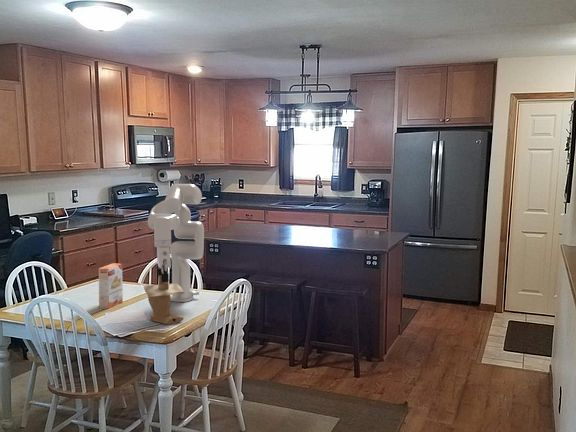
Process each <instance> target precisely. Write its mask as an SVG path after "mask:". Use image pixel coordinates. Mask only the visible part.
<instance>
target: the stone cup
mask: <svg viewBox="0 0 576 432" xmlns="http://www.w3.org/2000/svg"><path fill="white" fill-rule="evenodd" d="M170 296H171V295H163V296H152V297H148V296H147V300H148V303H149V305H150V308H151V309H152V312H153V315H151V316H150V318H149V319H150V320H151V321H153V322H156V323H160V324H164V325H173V324H179V323H181V322H182V321H184V317H183V316H180V315H176V314H173V313H171V304H172V303H171V302H172V301H171V298H170Z"/></svg>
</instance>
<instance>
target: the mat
mask: <svg viewBox="0 0 576 432" xmlns="http://www.w3.org/2000/svg"><path fill="white" fill-rule="evenodd" d="M104 315H105V321H106V324H107V325H113V324H121V323H123V324H124V323H129V322H130V323H131V322H142V321H148V319H147V316H146V314H145V312H144V309H143V308H141V309H131V310H119V311H110V312H104Z"/></svg>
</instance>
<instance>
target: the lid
mask: <svg viewBox="0 0 576 432" xmlns="http://www.w3.org/2000/svg"><path fill="white" fill-rule="evenodd" d="M157 276H158V277H157V278H158V279H157V282H158V284H153V285H144V286H143V290H144V291H145V293H146V295H147V298H148V297H152V296H163V295H170V296H172V295H174V294H184V291H183V289H182V288H181V287H180V286H179V285H178V283H176V284H172V283H169V282H162V281H161V275H157Z"/></svg>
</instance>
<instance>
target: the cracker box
mask: <svg viewBox="0 0 576 432" xmlns="http://www.w3.org/2000/svg"><path fill="white" fill-rule="evenodd" d="M123 301H124V300H123V263H118V262H117V263H114V262H113V263H110V264H108V265H104V266H102V267H99V268H98V308H99V309H111V308H113V307H115V306H117V305H119V304H122V303H123Z"/></svg>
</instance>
